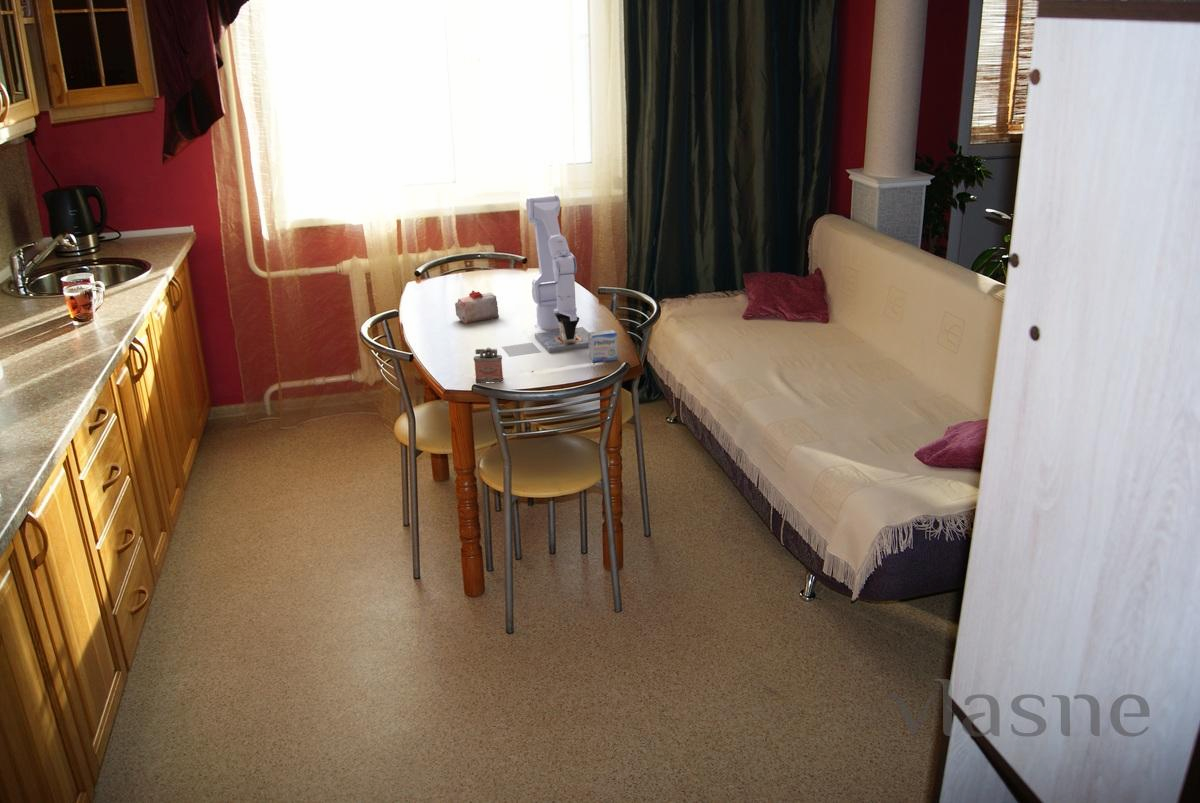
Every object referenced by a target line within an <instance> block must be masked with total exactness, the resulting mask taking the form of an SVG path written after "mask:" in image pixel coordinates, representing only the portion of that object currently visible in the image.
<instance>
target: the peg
mask: <svg viewBox="0 0 1200 803" xmlns="http://www.w3.org/2000/svg"><path fill="white" fill-rule="evenodd" d="M558 329H559V330H560V341H561V342H562V343H563V342H570V341H576V329H575V335H574V339H569V340H567V338H566V334H565V329H564V326H563V323H562V322H559V328H558Z"/></svg>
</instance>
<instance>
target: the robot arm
mask: <svg viewBox="0 0 1200 803" xmlns="http://www.w3.org/2000/svg"><path fill="white" fill-rule="evenodd" d="M525 206H526V207H525V208H526V214H527V215H526V216H527V220H528V222H529V223H532V224H533V227H534V235H535V245H536V251H537V252H536V253H537V260H538V270H539V273H538V274H537V275H536V276H535V277H534V278H533V280H532V281H531V294H532V300H533V302H534V303H535V304H536V319H537V322H536V323H535V324H534V327H535V328H540V329H541V330H548V331H549V330H551V331H553V330H556V329H557V330H558V329H559V322H562V323H563V326H564V329H565V334H566V338H567V340H569V339H574V335H575V329H576V328H577V325H578V324H579V321H580V317H579V316H578V315H577V310H578V309H577V306H576V286H575V282H576V281H575V280H576V279H575V274H577V269H578V266H577V259H576V257H575V255H574V254H573V252H570V251H571V250H570V248H569V245H568V241H567V238H566V237H565V236H564V235H562V233H561V229H560V224H559V220H558V217H559V215H560V211H561V199H560V197H559V195H558V194H557V193H553V194H543V195H533V196H532V195H528V197H527V198H526V203H525Z"/></svg>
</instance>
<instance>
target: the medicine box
mask: <svg viewBox="0 0 1200 803" xmlns="http://www.w3.org/2000/svg"><path fill="white" fill-rule="evenodd" d="M588 343H589V347H588V356H589V358H590V360H592V363H593V364H598V363H606V362H613V361H618V333H617V332H616V331H615V330H614V329H605V330H598V331H597V330H596V331H590V332H589V331H588Z"/></svg>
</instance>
